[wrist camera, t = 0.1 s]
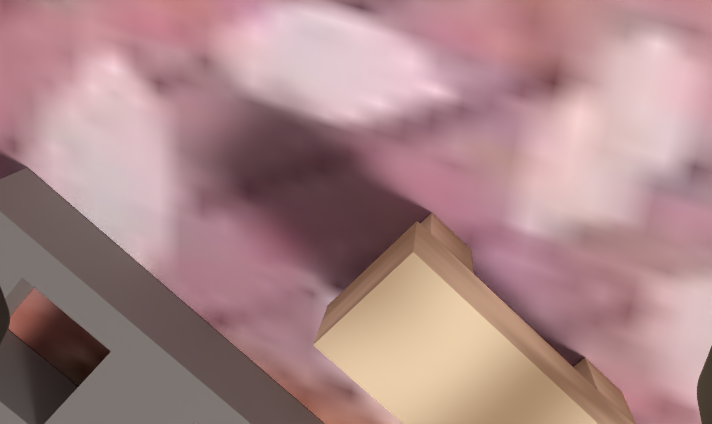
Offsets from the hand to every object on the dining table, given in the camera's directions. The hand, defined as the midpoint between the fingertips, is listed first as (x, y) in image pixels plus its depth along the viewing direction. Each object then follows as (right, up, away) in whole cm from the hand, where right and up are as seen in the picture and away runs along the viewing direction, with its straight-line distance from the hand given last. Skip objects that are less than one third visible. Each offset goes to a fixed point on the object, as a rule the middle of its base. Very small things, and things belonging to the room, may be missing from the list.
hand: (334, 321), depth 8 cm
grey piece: (-8, -6, +19) cm, 22 cm away
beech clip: (+6, -3, +17) cm, 18 cm away
